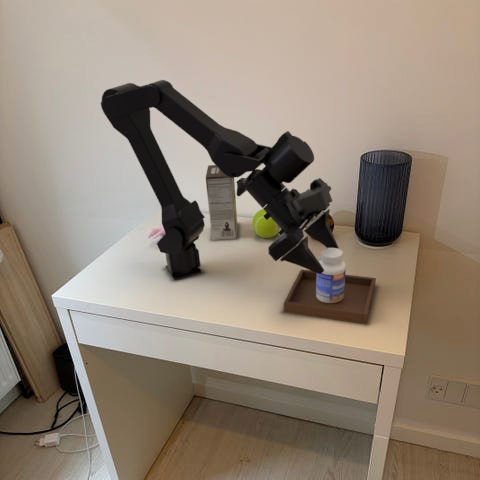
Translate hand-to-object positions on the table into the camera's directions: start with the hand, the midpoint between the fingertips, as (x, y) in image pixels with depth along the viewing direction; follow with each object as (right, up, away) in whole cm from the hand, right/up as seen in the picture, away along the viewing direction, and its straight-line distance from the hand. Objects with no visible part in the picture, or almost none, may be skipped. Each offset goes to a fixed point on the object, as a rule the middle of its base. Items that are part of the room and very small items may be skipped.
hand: (329, 261), depth 91 cm
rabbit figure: (-35, +10, +33) cm, 49 cm away
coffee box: (-21, +11, +33) cm, 41 cm away
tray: (+1, -7, +5) cm, 8 cm away
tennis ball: (-10, +10, +30) cm, 33 cm away
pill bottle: (+1, -7, +4) cm, 8 cm away
